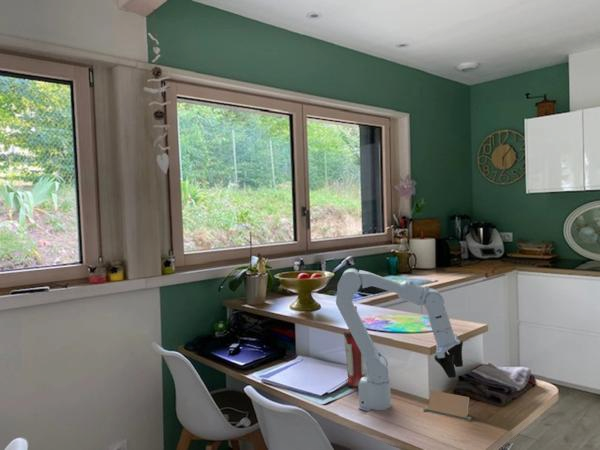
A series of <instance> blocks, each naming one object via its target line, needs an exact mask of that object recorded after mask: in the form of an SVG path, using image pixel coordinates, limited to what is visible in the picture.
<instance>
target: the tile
mask: <svg viewBox="0 0 600 450" xmlns="http://www.w3.org/2000/svg"><path fill="white" fill-rule="evenodd" d="M469 402H470V397H469V396H463V395H460V394H453V393H447V392H443V391H437V390H433V389H430V395H429V402H428V407H427V408H428V410H427V413H428V412H429V413H432V414H433V413H434V414H438V415H442V416H447V417H452V418H456V419H462V420H464V421H465V420H466V421H467V417H468V415H467V413H468V414H469Z"/></svg>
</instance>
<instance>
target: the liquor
mask: <svg viewBox="0 0 600 450" xmlns="http://www.w3.org/2000/svg"><path fill="white" fill-rule="evenodd" d="M354 306H355V308H356V310H357V311H358V309H357V305H354ZM343 338H344V349H345V351H344V352H345V360H346V371H347V372H346V373H347V380H348V383H347V384H348V385H349V386H350V387H351V386H352V387H351V388H353V387H357V388H356V389H358V387H359V382H360V380H361V378H362V377H366V374H365V372H366V371H365V370H366V369H365V367H366V365H365V362H364V359H363V356H362V353H361V351H360V350H359V348H358V346H357V344H356V342H355V340H354V338H353V336H352V334H351V332H350V330H349V328H347V329H345V331H343Z"/></svg>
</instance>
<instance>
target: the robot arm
mask: <svg viewBox="0 0 600 450" xmlns="http://www.w3.org/2000/svg"><path fill="white" fill-rule="evenodd" d="M360 287H361V288H362V289H365V288H366V289H367V288H369V287H375V288H377V289H380V290H384V291H387V292H391V293H395V294H397V296H398V298H399V299H400V300H402V301H405V302H409V303H412V304H415V305H417V306H424V308H425V310H426V312H427V318H428V321H429V324H430V327H431V330H432V335H433V337H434V339H435V342H436V351H435V353H436V354H435V356H434V357H433V358H434V360H435V362H436V363H438V364H439V366H441V368H442V370H443V371H444V373H445V374H446V376H447V377H448V378H449V379H450V378H451V379H452V378H453V379H454V378H456V377H457V372H456V369H455V368H461V367H463V366H464V362H463V345H464V343H463V341H462V340H460V339H459V337H458V335H457V333H454V330H453V327H452V324H451V321H450V318H449V315H448V312H447V311H446V307H445V298H444V297H443V296H442V295H441V293H440V292H439V291H438V290H436V289H434V288H432V287H429V286H422V285H419V284H416V283H415V281H413V280H410V279H409V280H408V281H406V280H405V281H402V282H398V281H394V280H392V279H389V278H386V277H383V276H381V275H378V274H375V273H372V272H371V271H366V270H364V269H363V270H361V269H356V268H354V267H351V268H347V269H345V270H344V271H343V273H342V275H341V277H340V279H339V280H338V283H337V291H336V299H335V304H336V307H337V308H338V309H337V310H339V312H340V315H341V316H342V318H343V320H344V322H345V324H346V326H347V329H349V330H350V332H351V334H352V336H353V338H354V340H355V342H356V344H357V346H358V348H359V350H360V351H361V353H362V356H363V359H364V362H365V367H366V370H367V371H366V372H367V373H366V374H367V375H366V376H365V377H362V378H361V380H360V382H359V388H357V389H358V405H359V406H358V407H357V408H358V409H359V410H363V411H367V412H370V411H371V410H377V411H384V410H388V409H390V408H391V407H392V398H391V396H392V395H391V394H392V393H391V377H390V376H389V369H388V364H389V362H388V360H387V358H386V357H385V356H384V355H383V354H381V352H380V351H379V349H378V348H377V346H376V345H375V343H374V341H373V339H372V338H371V336H370V334H369V332H368V330H367V328H366V326H365V324H364V322H363V320H362V318H361V316H360V315H359V313H358V309H357V310H356V308H355V306H356V305H354V303H353V299H354V297H355V294H356V293H357V291H358V290H359V289H360Z"/></svg>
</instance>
